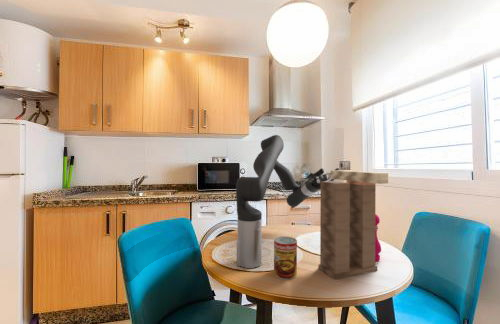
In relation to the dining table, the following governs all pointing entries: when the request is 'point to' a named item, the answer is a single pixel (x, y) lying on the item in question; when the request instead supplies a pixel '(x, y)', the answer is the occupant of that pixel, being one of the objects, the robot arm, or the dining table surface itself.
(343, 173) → the birch bar
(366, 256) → the walnut rack
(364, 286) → the dining table surface
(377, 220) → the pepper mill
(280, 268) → the canned food
